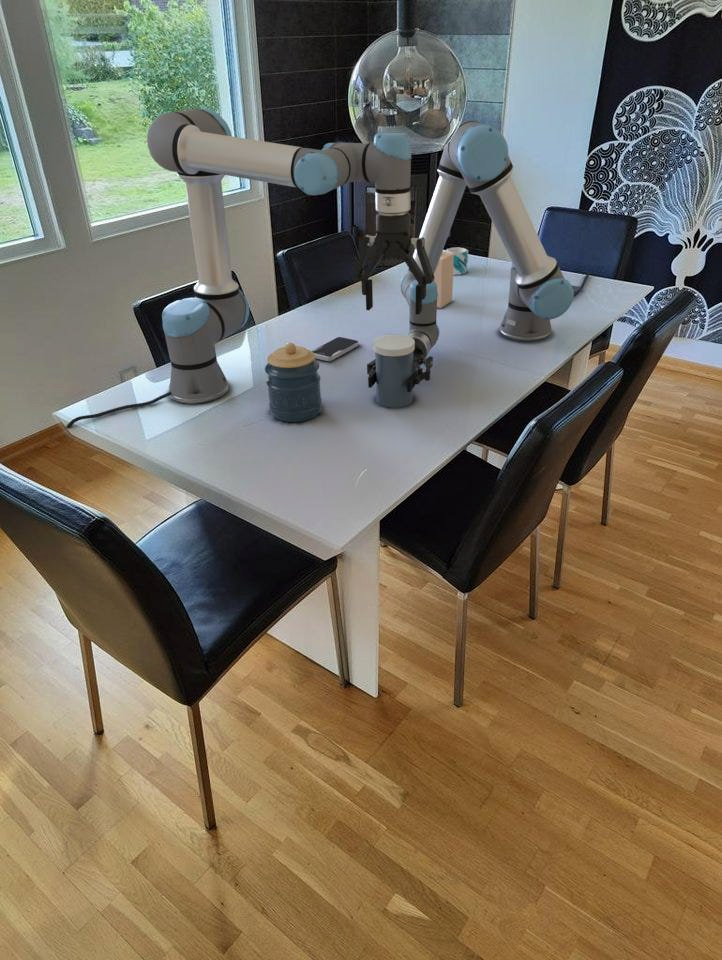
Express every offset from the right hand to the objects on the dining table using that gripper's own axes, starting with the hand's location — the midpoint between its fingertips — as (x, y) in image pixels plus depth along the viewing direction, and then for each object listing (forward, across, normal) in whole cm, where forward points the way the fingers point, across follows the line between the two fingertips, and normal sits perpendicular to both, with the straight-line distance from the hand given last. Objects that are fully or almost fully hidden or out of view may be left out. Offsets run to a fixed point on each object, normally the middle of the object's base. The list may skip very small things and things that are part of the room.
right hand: (389, 384), depth 163 cm
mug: (-121, +9, -6) cm, 121 cm away
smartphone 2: (-103, -31, -6) cm, 108 cm away
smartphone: (-31, +26, -6) cm, 41 cm away
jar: (-4, 0, -6) cm, 8 cm away
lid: (-4, 0, +9) cm, 10 cm away
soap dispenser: (-82, +7, -6) cm, 83 cm away
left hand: (-4, 0, +17) cm, 18 cm away
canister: (+8, +22, -6) cm, 24 cm away
